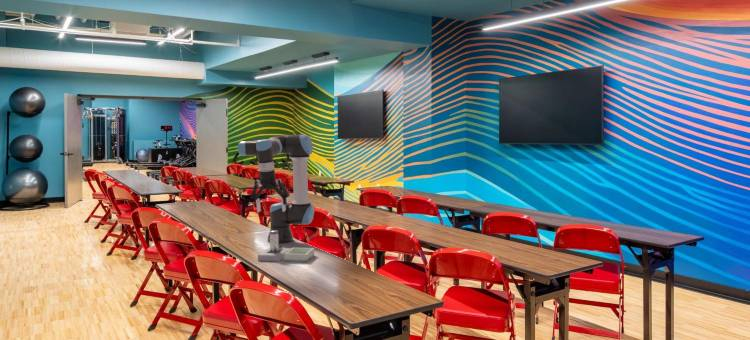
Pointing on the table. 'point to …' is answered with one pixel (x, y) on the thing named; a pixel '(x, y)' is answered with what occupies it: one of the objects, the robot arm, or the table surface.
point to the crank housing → (272, 255)
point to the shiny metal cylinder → (274, 241)
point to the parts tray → (299, 255)
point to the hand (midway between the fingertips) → (271, 211)
